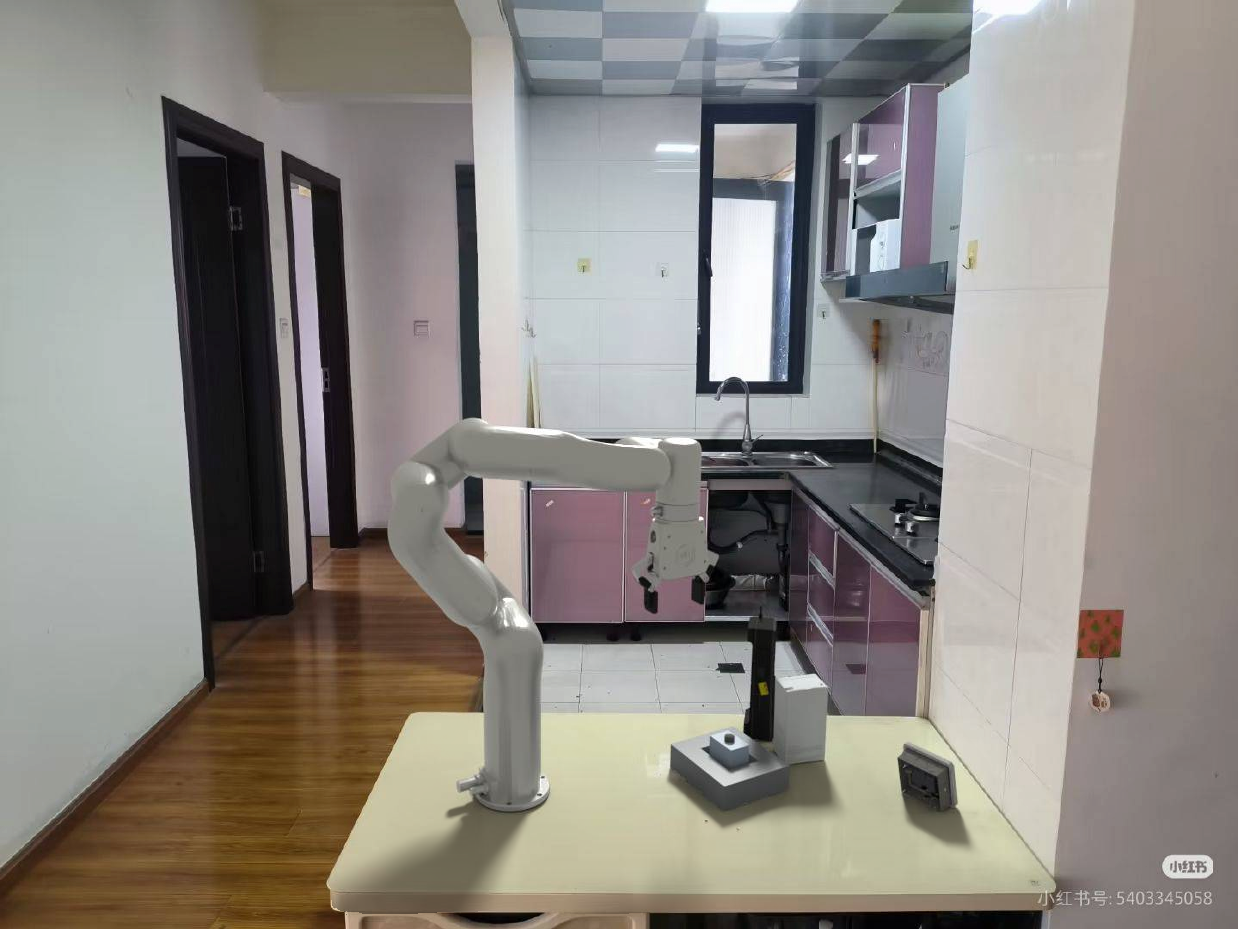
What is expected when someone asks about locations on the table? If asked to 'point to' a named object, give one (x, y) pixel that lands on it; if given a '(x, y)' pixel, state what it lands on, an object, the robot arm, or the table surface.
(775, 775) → the socket block
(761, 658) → the portable radio
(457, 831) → the table surface
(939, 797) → the electrical switch
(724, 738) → the plug
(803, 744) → the skincare box
